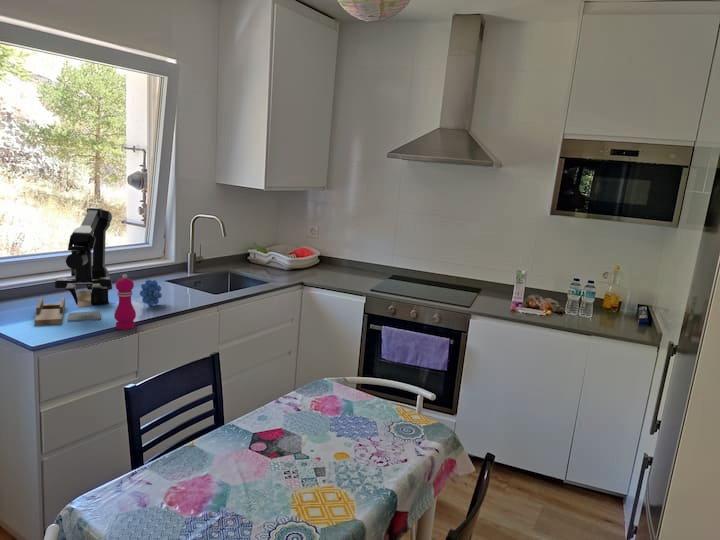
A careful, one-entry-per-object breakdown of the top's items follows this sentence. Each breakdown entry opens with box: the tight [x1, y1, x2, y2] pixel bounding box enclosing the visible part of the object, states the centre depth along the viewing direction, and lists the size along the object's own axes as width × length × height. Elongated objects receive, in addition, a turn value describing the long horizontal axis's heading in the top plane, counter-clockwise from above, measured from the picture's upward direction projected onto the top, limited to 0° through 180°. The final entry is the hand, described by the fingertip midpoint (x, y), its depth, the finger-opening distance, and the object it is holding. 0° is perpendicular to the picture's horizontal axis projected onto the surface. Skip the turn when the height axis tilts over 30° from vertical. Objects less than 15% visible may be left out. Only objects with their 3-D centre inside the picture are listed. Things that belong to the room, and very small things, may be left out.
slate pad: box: [67, 310, 102, 323], centre depth 199 cm, size 11×11×1 cm
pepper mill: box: [113, 273, 137, 330], centre depth 188 cm, size 7×7×20 cm
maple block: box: [76, 289, 92, 309], centre depth 198 cm, size 4×4×6 cm
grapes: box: [139, 279, 163, 307], centre depth 219 cm, size 12×7×12 cm, turn 158°
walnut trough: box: [33, 296, 66, 326], centre depth 197 cm, size 8×24×4 cm, turn 27°
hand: (84, 304), depth 198 cm, fingers closed on maple block, 4 cm apart
